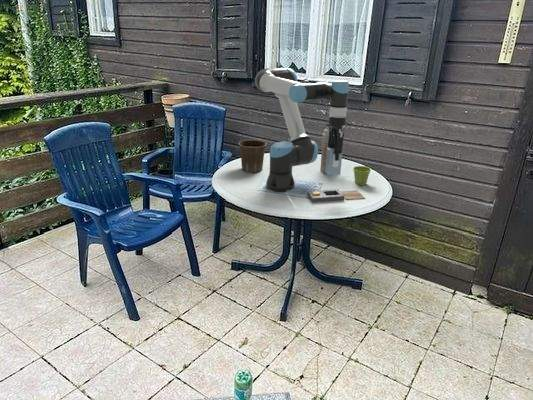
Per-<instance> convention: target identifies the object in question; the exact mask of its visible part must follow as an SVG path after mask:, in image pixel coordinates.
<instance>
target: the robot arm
mask: <svg viewBox="0 0 533 400" xmlns="http://www.w3.org/2000/svg"><path fill="white" fill-rule="evenodd" d="M254 84H255V87H256V88H257V89H258V90H259V91H260V92H261V91H262V92H265V93H273V95H274V96H275V97H276V98H278V100H279V104H280V108H281V110H282V114H283V117H284V122H285V124H286V128H287V131H288V135H289V138H290V140H289V141H286V140H285V141H277V142H275V143H273V144H272V145H271V146H270V149H269V174H268V176H267V180H266V182H265V183H266V185H265V187H266V189H268V190H269V191H272V192H279V193H285V192H287V191H290V190H292V189H294V188H295V186H296V182H295V179H294V175H293V167H297V166H302V165H309V164H312V163H314V162H316V160H317V159H318V155H319V147H318V144H317V142H315V141H314V140H312V139H311V136H310V135H308V134H307V133H306V130H305V126H304V123H303V119H302V116H301V112H300V109H299V106H298V103H303V102H311V101H322V100H323V101H324V100H325V101H329V103H330V104H329V113H328V114H329V116H328V124H330V125H332V127H329V140H328V147H329V148H334V153H333V165H332V167H338V165H339V154H341V153H342V154H343V151H342V150H343V146H344V145H343V144H344V138H345V132H343V129H342V128H343V127H344V126H345V125H346V120H347V117H346V116H347V111H348V99H349V91H350V89H349V88H350V85H349V81H348V80H342V79H337V80H336V79H335V80H332V82H331V83H330V82H326V81H318V82H316V83H314V82H313V83H301V82H298V77H297V74H296V71H294V69H293V68H290V67H276V68H275V67H274V68H272V67H271V68H263V69H261V70H260V71H258V72H257V74H256V76H255V78H254Z"/></svg>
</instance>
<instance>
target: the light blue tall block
mask: <svg viewBox="0 0 533 400" xmlns="http://www.w3.org/2000/svg"><path fill="white" fill-rule="evenodd" d="M333 153H334V148H327V156H326V169H325V172H326V173H325V174H327V176H338V175H339V176H340V175H341V170H342V160H343V159H342V158H343V149H342V153H341V154H339V165H338V167H332V165H333Z"/></svg>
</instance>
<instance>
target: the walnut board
mask: <svg viewBox="0 0 533 400" xmlns="http://www.w3.org/2000/svg"><path fill="white" fill-rule="evenodd" d="M339 191H340V190H339ZM340 192H341V193H342V194H343V195H344V201H345V200H346V201H353V200H366V197H365V196H364V195H363V194H362V193H361V192H360V191H358V190H343V191H340Z"/></svg>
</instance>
